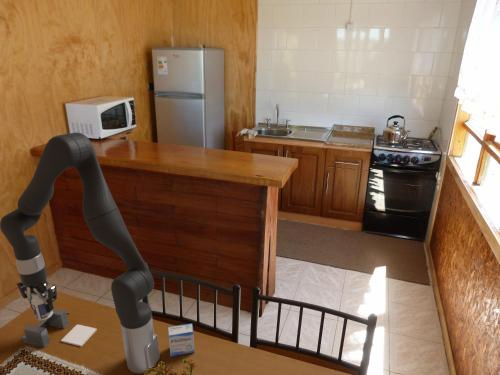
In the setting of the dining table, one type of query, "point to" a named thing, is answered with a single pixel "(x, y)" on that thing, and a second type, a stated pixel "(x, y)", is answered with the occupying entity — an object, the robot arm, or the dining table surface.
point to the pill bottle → (39, 307)
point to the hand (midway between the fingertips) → (42, 309)
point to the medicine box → (181, 339)
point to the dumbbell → (39, 332)
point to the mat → (79, 335)
